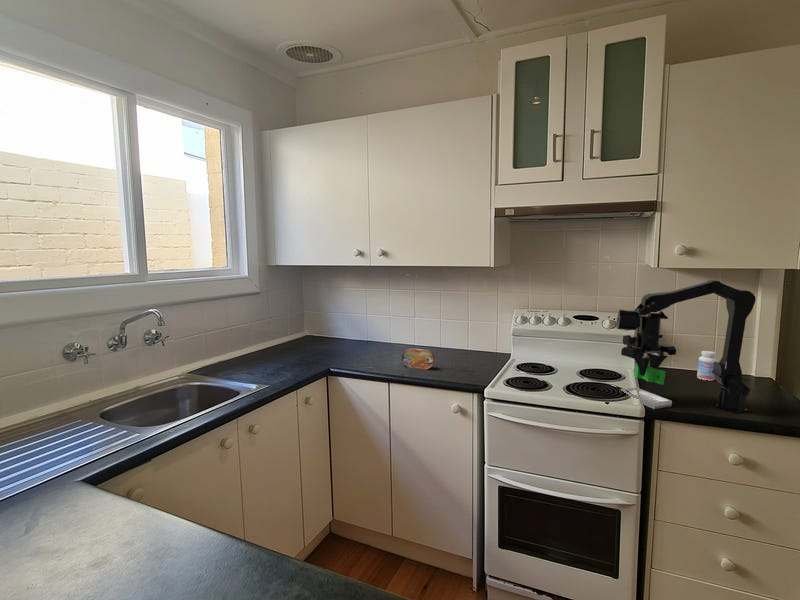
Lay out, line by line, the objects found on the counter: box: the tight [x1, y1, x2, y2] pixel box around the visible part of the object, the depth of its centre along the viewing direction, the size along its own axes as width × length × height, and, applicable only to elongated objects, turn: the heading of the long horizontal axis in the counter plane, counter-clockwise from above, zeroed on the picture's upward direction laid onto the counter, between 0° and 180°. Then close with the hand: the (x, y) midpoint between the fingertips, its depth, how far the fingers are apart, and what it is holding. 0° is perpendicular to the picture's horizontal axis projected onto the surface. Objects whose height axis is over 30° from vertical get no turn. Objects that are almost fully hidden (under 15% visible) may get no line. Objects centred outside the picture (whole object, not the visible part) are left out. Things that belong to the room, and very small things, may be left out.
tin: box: [401, 347, 436, 370], centre depth 192 cm, size 15×3×8 cm, turn 65°
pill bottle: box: [696, 350, 718, 382], centre depth 178 cm, size 6×6×11 cm
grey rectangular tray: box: [619, 387, 673, 410], centre depth 153 cm, size 15×8×2 cm, turn 18°
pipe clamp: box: [633, 362, 667, 385], centre depth 152 cm, size 11×4×5 cm, turn 18°
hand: (647, 375), depth 152 cm, fingers closed on pipe clamp, 4 cm apart
